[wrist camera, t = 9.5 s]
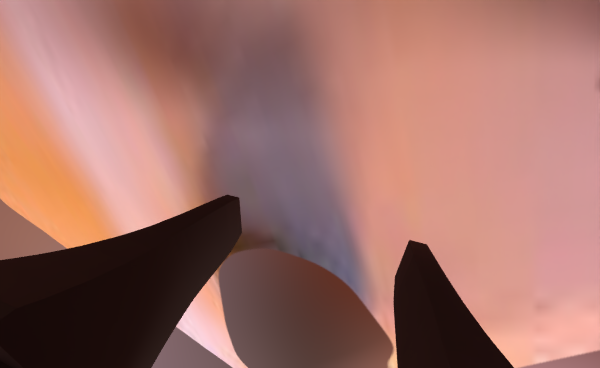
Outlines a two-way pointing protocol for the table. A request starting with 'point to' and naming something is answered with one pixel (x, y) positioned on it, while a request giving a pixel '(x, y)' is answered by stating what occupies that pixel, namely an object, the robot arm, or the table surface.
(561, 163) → the table surface
